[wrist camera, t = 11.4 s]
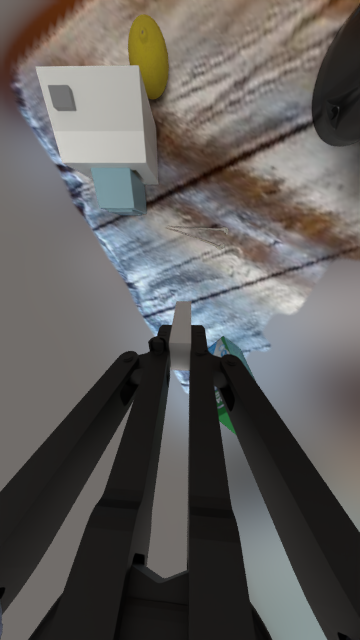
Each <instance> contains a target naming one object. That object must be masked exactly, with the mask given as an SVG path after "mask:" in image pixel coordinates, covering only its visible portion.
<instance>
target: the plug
mask: <svg viewBox="0 0 360 640" xmlns="http://www.w3.org/2000/svg"><path fill="white" fill-rule="evenodd" d="M91 172H92V177H93V181H94V186H95V191H96V195H97V200H98V205H99V208H101V209H105V210H108V212H111V213H115V214H119V215H142V214H147V209H146V197H145V186H144V184H143V183H142V181H141V180H140V179H139V178H138V177H137V173H136V170H131V169H130V168H91Z"/></svg>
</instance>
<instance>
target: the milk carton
mask: <svg viewBox="0 0 360 640" xmlns="http://www.w3.org/2000/svg"><path fill="white" fill-rule="evenodd" d="M208 350H209V352H210V353H211V354H213V355H215V356H218V357H222V356H223V355H226V354H232V355H235V356H237V357H238V358H239V359H240V360H241V361H242V362H243V364H244V365H245V367H246V368H247V370H248V371H249V373H250V374H251V376H252V377H253V375H252V372H251V370H250V368H249V366H248V364H247V362H246V360H245V358H244V355H243V353H242V351H241V349H240V348H238V347H237V346H236V345H234V344H233V343H232V342H230V341H229V340H228V339H226V338H225V337H224V336H223V337H222V338H221V339H219V340H218V341H217V342H216V343H215V344H213V345H212V346H211V347H210V348H208ZM253 378H254V377H253ZM254 380H255V379H254ZM214 388H215V395H216V402H217V409H218V416H219V421H220V422H221V423H222V424H224V425H225V426H226V427H227V428H228V429H230V430H231V431H232V432H233V433H235V430H234V428H233V426H232V423H231V421H230V418H229V416H228V414H227V411H226V409H225V407H224V404H223V402H222V399H221V397H220V395H219V392H218V390H217V387H216V386H214ZM235 434H236V433H235Z"/></svg>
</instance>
